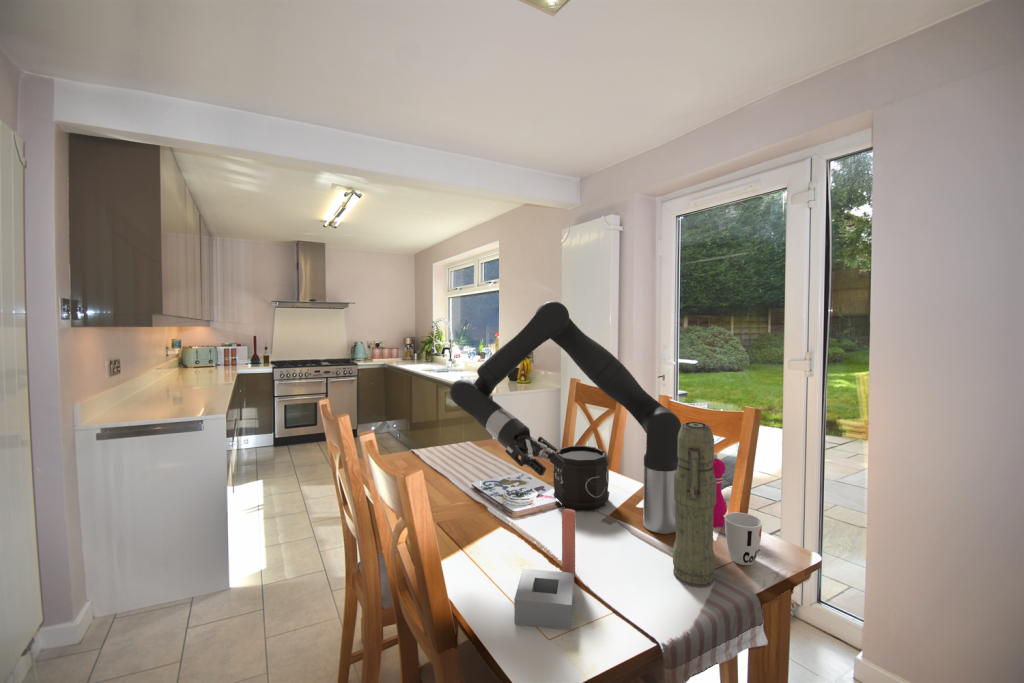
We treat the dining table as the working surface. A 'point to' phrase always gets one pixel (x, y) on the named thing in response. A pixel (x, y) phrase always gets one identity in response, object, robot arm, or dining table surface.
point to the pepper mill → (719, 494)
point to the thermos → (694, 506)
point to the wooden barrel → (582, 478)
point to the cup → (743, 537)
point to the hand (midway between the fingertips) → (553, 469)
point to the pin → (568, 541)
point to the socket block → (545, 599)
